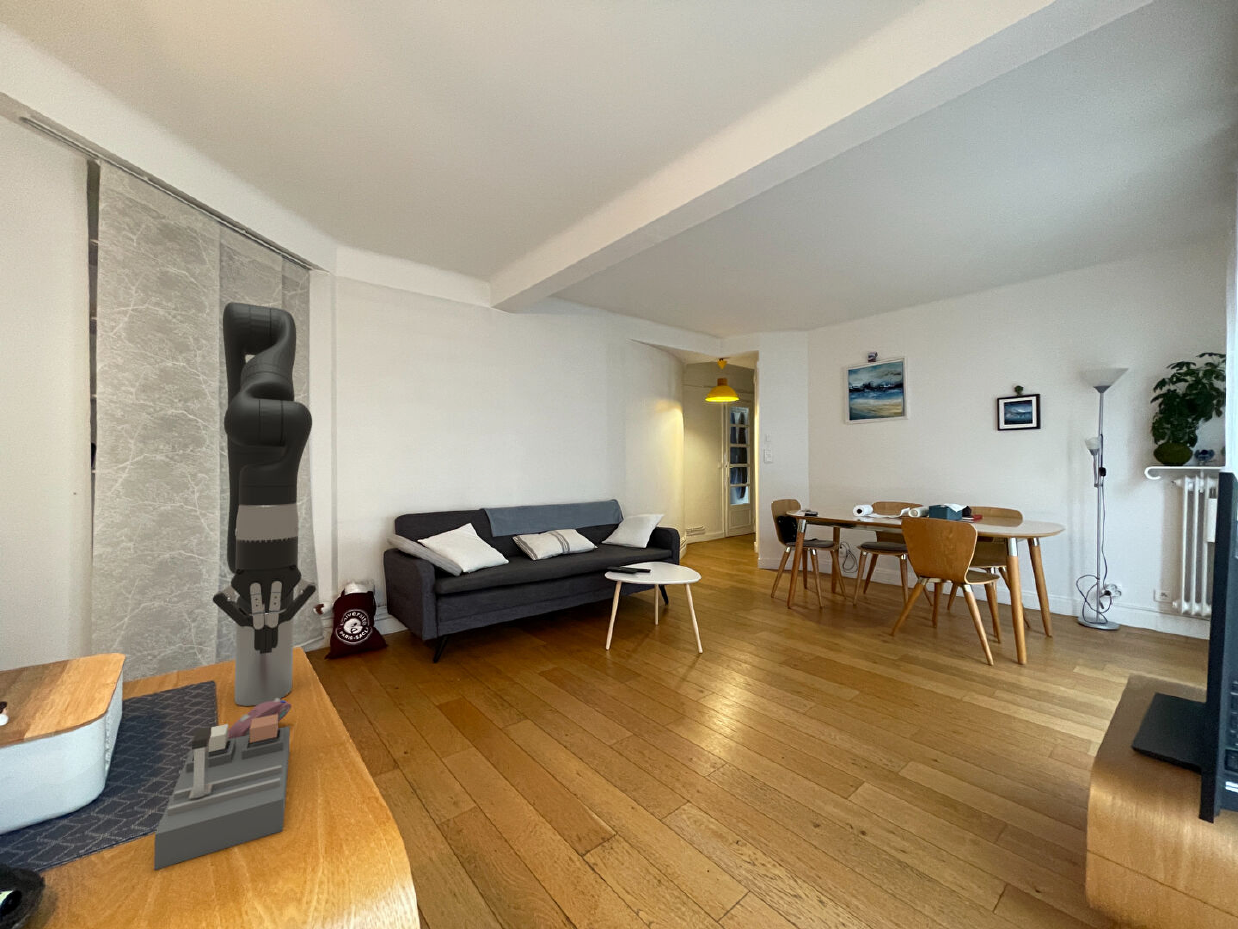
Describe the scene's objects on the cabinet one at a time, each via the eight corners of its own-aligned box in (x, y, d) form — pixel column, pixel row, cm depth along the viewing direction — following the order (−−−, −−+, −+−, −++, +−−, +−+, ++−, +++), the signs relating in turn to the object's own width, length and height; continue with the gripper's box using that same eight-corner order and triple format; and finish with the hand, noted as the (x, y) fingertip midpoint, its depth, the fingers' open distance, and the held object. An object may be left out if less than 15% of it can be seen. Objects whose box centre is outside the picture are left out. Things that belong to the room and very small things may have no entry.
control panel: (191, 774, 73) (191, 739, 73) (289, 751, 79) (289, 718, 79) (154, 870, 56) (155, 824, 56) (282, 831, 62) (283, 789, 62)
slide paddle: (193, 793, 63) (194, 730, 63) (213, 788, 64) (214, 726, 64) (187, 808, 60) (188, 742, 60) (208, 803, 61) (209, 738, 61)
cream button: (199, 743, 71) (200, 729, 71) (228, 737, 73) (228, 724, 73) (195, 755, 68) (195, 740, 68) (224, 748, 70) (225, 734, 70)
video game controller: (231, 765, 78) (248, 727, 78) (209, 749, 79) (227, 711, 78) (284, 732, 88) (300, 698, 87) (265, 718, 89) (280, 684, 88)
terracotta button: (252, 732, 74) (252, 719, 74) (277, 727, 76) (278, 713, 76) (249, 743, 71) (249, 729, 71) (276, 736, 73) (276, 723, 73)
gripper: (320, 529, 80) (318, 636, 80) (215, 533, 73) (213, 651, 73) (320, 535, 74) (318, 652, 74) (206, 540, 67) (203, 669, 67)
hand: (266, 651), depth 74 cm, fingers closed
